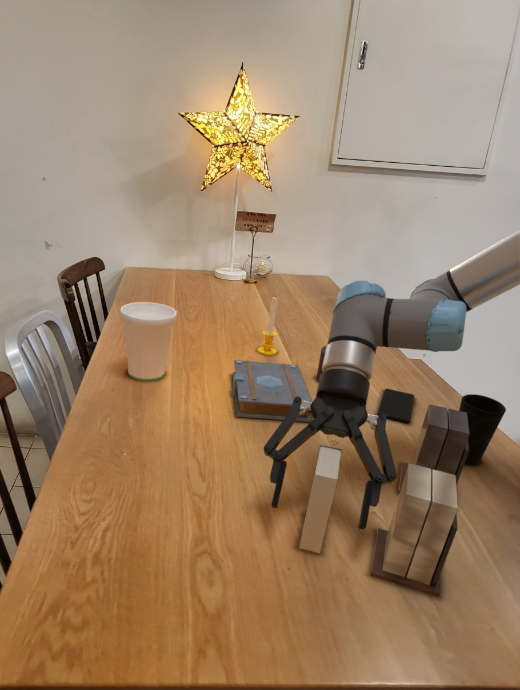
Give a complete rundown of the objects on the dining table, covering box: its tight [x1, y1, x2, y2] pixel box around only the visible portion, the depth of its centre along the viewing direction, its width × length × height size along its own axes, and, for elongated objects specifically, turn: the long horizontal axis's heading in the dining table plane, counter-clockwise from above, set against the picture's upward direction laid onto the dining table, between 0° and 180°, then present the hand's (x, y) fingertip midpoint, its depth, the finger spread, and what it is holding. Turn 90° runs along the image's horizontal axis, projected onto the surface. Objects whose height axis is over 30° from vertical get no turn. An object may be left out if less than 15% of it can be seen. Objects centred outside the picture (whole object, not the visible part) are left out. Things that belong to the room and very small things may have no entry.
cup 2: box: [458, 393, 507, 466], centre depth 102 cm, size 8×8×12 cm
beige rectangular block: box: [298, 444, 343, 554], centre depth 78 cm, size 3×8×13 cm, turn 165°
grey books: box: [398, 403, 469, 495], centre depth 92 cm, size 9×10×14 cm
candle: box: [257, 295, 279, 356], centre depth 142 cm, size 5×5×16 cm
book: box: [231, 359, 314, 423], centre depth 119 cm, size 21×16×5 cm
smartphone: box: [376, 388, 415, 424], centre depth 122 cm, size 7×1×15 cm
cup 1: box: [119, 301, 178, 382], centre depth 122 cm, size 12×12×15 cm
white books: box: [370, 462, 459, 598], centre depth 74 cm, size 9×10×14 cm
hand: (317, 517), depth 76 cm, fingers open, 12 cm apart
